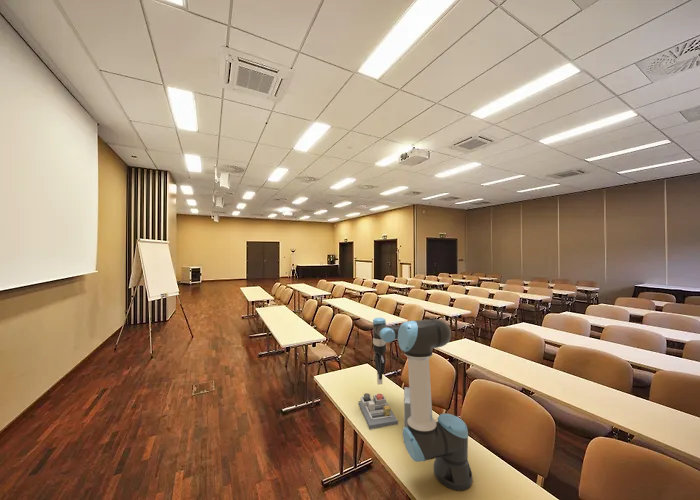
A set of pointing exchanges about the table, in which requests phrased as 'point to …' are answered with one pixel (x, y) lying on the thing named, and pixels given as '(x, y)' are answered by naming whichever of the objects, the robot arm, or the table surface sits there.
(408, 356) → the robot arm
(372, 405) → the slider white
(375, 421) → the panel
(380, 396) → the button red
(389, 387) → the table surface
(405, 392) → the hard drive box
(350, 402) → the table surface
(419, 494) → the table surface
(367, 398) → the button black
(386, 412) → the slider brass
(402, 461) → the table surface
